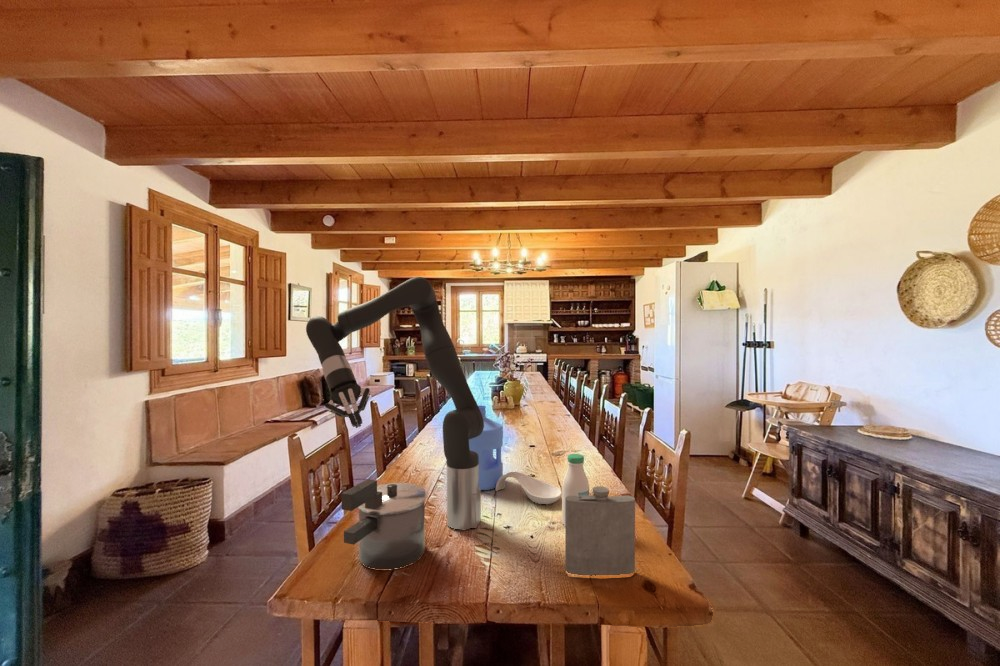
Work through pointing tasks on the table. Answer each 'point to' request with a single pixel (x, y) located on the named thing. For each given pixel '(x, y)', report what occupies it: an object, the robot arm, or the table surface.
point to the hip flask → (600, 534)
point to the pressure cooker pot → (389, 538)
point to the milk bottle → (574, 480)
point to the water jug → (488, 452)
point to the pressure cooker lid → (383, 497)
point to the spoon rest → (533, 488)
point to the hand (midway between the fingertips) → (358, 426)
